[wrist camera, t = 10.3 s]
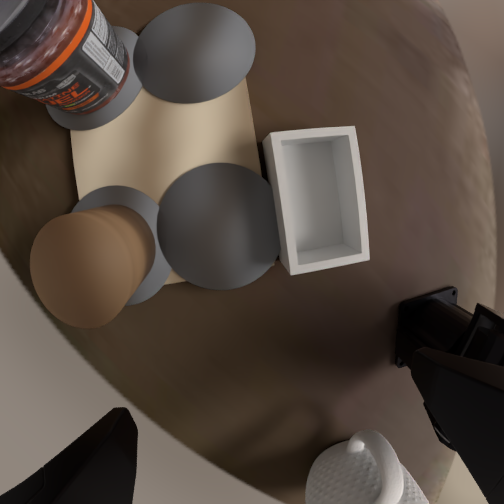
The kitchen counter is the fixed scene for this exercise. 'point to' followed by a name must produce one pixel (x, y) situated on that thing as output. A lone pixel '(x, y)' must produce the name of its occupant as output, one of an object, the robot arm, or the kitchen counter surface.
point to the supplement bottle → (61, 54)
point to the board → (162, 176)
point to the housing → (317, 197)
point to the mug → (361, 474)
